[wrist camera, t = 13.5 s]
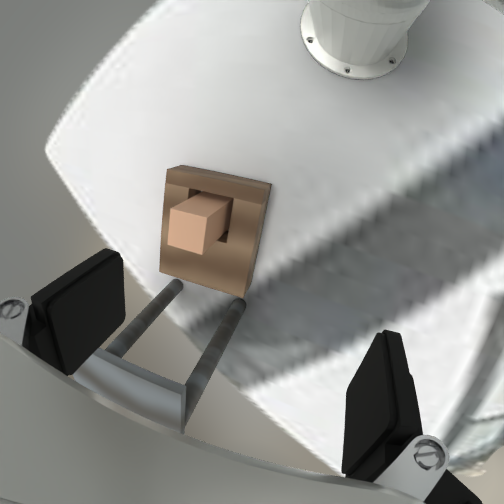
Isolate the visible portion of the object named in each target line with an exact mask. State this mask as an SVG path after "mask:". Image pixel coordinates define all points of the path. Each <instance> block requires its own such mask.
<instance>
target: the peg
mask: <svg viewBox="0 0 504 504" xmlns="http://www.w3.org/2000/svg"><path fill="white" fill-rule="evenodd" d="M233 202H234V198H231V197H227V196H222V195H218V194H214V193H209V192H205V191H203V192H201V193H199V194H197V195H195V196H193V197H191V198H189V199H187V200H186V201H184V202H182V203H180V204H178V205H176V206H174V207H172V208H171V209H170V220H169V231H168V244H167V245H170V246H174V247H177V248H180V249H184V250H187V251H191V252H194V253H197V254H201V255H203V254H204V252H205V251H206V250H207V249H208V248H209V247H210V246H211V245H212V244H213V243H214V242H215V241H216V240H218V239H219V238H220V237H221V236H222V235H223V234H224V233H225V232H226V231H227V230H228V229H229V226H230V220H231V214H232V208H233Z"/></svg>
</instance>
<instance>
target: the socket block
mask: <svg viewBox="0 0 504 504" xmlns="http://www.w3.org/2000/svg"><path fill="white" fill-rule="evenodd" d="M270 189H271V184H269V183H265V182H261V181H256V180H252V179H247V178H243V177H238V176H234V175H229V174H224V173H220V172H215V171H210V170H205V169H200V168H194V167H189V166H184V165H180V166H177V167H173V168H170V169H167V174H166V183H165V193H164V204H163V217H162V230H161V246H160V267H159V272H162V273H165V274H168V275H171V276H174V277H177V278H180V279H183V280H186V281H189V282H193V283H196V284H199V285H202V286H205V287H208V288H212V289H215V290H218V291H222V292H225V293H228V294H231V295H235V296H238V297H241V298H243V297H244V295H245V294H246V292H247V290H248V288H249V286H250V284H251V280H252V276H253V271H254V266H255V261H256V256H257V252H258V247H259V242H260V237H261V232H262V227H263V223H264V218H265V213H266V208H267V203H268V198H269V193H270ZM201 191H205V192H209V193H214V194H218V195H222V196H227V197H231V198H234V202H233V208H232V214H231V220H230V226H229V231H228V230H227V231H226V232H225V233H224V234H223V235H222V236H221V237H220V238H219V239H218V240H216V241H215V242H214V243H213V244H212V245H211V246H210V247H209V248H208V249H207V250H206V251H205V252H204V254H203V255H201V254H197V253H194V252H191V251H187V250H184V249H180V248H177V247H174V246H170V245H167V244H168V231H169V220H170V209H171V208H172V207H174V206H176V205H178V204H180V203H182V202H184V201H186V200H187V199H189V198H191V197H193V196H195V195H197V194H199V193H201ZM182 288H183V285H182V283H181V282H180V281H179V280H177V279H174V280H172V281H171V282H170V283H169V284H168V285H167V286H166V287H165V288H164V289H163V290H162V291H161V292H160V293H159V294H158V295H157V296H156V297H155V298H154V299H153V300H152V301H151V302H150V303H149V305H147V307H145V308H144V310H142V312H141V313H140V314H139V315H138V316H137V317H136V318H135V319H134V320H133V321H132V322H131V323H130V324H129V325H128V326H127V327H126V328H125V329H124V330H123V331H122V332H121V333H120V334H119V335H118V336H117V337H116V338H115V340H114V341H113V342H112V343H111V344H110V345H109V346H108V347H107V348H106V349H105V350H103V349H101V348H98V349H97V350H96V351H95V352H94V353H93V354H92V355H91V356H90V357H89V358H88V359H87V360H86V361H85V362H84V363H83V364H82V365H81V366H80V367H79V368H78V370H77V371H76V372H75V373H74V374H73V376H74V379H75V381H76V382H78V383H79V384H81V385H83V386H85V387H86V388H88V389H90V390H92V391H93V392H95V393H97V394H99V395H101V396H102V397H104V398H106V399H108V400H110V401H112V402H114V403H116V404H118V405H120V406H122V407H123V408H125V409H128V410H130V411H132V412H134V413H136V414H138V415H140V416H142V417H144V418H146V419H149V420H151V421H153V422H155V423H158V424H160V425H162V426H165V427H167V428H169V429H172V430H174V431H177V432H179V433H182V434H184V429H185V426H186V424H187V422H188V420H189V418H190V416H191V414H192V413H193V411H194V409H195V407H196V405H197V403H198V401H199V399H200V397H201V395H202V393H203V391H204V389H205V387H206V385H207V383H208V381H209V380H210V378H211V375H212V374H213V372H214V370H215V368H216V366H217V364H218V362H219V360H220V358H221V356H222V354H223V352H224V350H225V348H226V346H227V344H228V342H229V340H230V338H231V336H232V334H233V332H234V330H235V328H236V326H237V324H238V322H239V320H240V318H241V316H242V314H243V312H244V310H245V308H246V303H245V302H244V301H243V300H241V299H235V300H234V301H233V303H232V305H231V306H230V308H229V310H228V312H227V313H226V315H225V317H224V318H223V320H222V322H221V324H220V325H219V327H218V329H217V331H216V332H215V334H214V336H213V337H212V339H211V341H210V343H209V344H208V346H207V348H206V349H205V351H204V353H203V355H202V356H201V358H200V360H199V362H198V363H197V365H196V367H195V368H194V370H193V372H192V373H191V375H190V377H189V378H188V380H187V382H186V384H185V385H182V384H180V383H177V382H175V381H172V380H170V379H167V378H165V377H162V376H160V375H157V374H155V373H153V372H150V371H148V370H146V369H143V368H141V367H139V366H137V365H135V364H132V363H130V362H128V361H126V360H124V359H122V357H123V355H124V354H125V353H126V352H127V351H128V350H129V349H130V347H131V346H132V345H133V344H134V343H135V342H136V341H137V339H138V338H139V337H140V336H141V335H142V334H143V333H144V331H145V330H146V329H147V328H148V327H149V326H150V325H151V324H152V322H153V321H154V320H155V319H156V318H157V317H158V316H159V314H160V313H161V312H162V311H163V310H164V309H165V308H166V307H167V306H168V304H169V303H170V302H171V301H172V300H173V299H174V298H175V297H176V295H177V294H178V293H179V292H180V291H181V290H182Z"/></svg>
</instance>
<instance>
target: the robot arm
mask: <svg viewBox="0 0 504 504" xmlns="http://www.w3.org/2000/svg"><path fill="white" fill-rule="evenodd" d="M482 1H484V2H485V3H487V4H489V5H490V6H492V7H493V8H495V9H496V10H498V11H499V12H501V13H502V14H503V15H504V0H482ZM429 2H430V0H308V4H307V5H306V7H305V9H304V10H303V13H302V16H301V22H300V30H301V36H302V39H303V42H304V44H305V46H306V48H307V50H308V52H309V53H310V54H311V56H312V57H313V58H314V59H315V60H316V61H317V62H318V63H319V64H320V65H321V66H323V67H324V68H326V69H327V70H329V71H331V72H333V73H335V74H337V75H340V76H343V77H346V78H351V79H358V80H363V79H373V78H378V77H381V76H383V75H385V74H388V73H389V72H390V71H392V70H393V69H395V68H396V67H397V66H398V65H399V63H400V62H401V61H402V59H403V58H404V56H405V53H406V51H407V46H408V34H407V31H408V29H409V28H410V27H411V25H412V24H413V23H414V22H415V20H416V19H417V18H418V16H419V15H420V14H421V13H422V11H423V10H424V8H425V7H426V6H427V5H428V3H429ZM310 40H311V41H313V42H312V43H309V41H310ZM390 60H391V61H392V62H393V64H391V63H390V62H389V61H390ZM345 70H349V71H350V73H346V72H345ZM31 300H32V304H31V305H30V306H29V304H28V303H27V301H26V300H25V299H23V298H20V297H9V298H6V299H4V300H2V301H0V504H482V501H481V500H480V499H479V498H478V497H477V496H476V495H475V494H474V493H473V492H471V491H470V490H469V489H468V488H467V487H466V486H465V485H464V484H463V483H461V482H460V481H459V480H458V479H457V478H456V477H455V476H454V475H453V474H452V473H450V472H449V471H448V470H447V466H448V464H449V453H448V450H447V448H446V446H445V444H444V443H443V442H442V441H441V440H439V439H438V438H436V437H434V436H430V435H423V431H422V425H421V418H420V412H419V407H418V401H417V396H416V390H415V385H414V380H413V377H412V375H411V374H410V373H409V368H408V363H407V359H406V354H405V350H404V346H403V342H402V337H401V334H400V333H397V332H393V331H389V330H384V331H383V332H382V333H377V334H376V336H375V338H374V340H373V342H372V344H371V346H370V348H369V350H368V351H367V353H366V355H365V357H364V359H363V361H362V363H361V365H360V366H359V368H358V370H357V372H356V374H355V375H354V377H353V379H352V381H351V382H350V384H349V386H348V389H347V392H346V411H345V431H344V446H343V458H342V473H343V474H346V477H345V478H344V477H339V476H332V475H327V474H321V473H316V472H311V471H306V470H301V469H296V468H292V467H288V466H284V465H280V464H276V463H271V462H268V461H264V460H260V459H256V458H253V457H249V456H245V455H242V454H239V453H236V452H232V451H229V450H226V449H223V448H220V447H217V446H214V445H211V444H208V443H206V442H203V441H200V440H197V439H195V438H192V437H189V436H187V435H184V434H182V433H179V432H177V431H174V430H172V429H169V428H167V427H165V426H162V425H160V424H158V423H155V422H153V421H151V420H149V419H146V418H144V417H142V416H140V415H138V414H136V413H134V412H132V411H130V410H128V409H125V408H123V407H122V406H120V405H118V404H116V403H114V402H112V401H110V400H108V399H106V398H104V397H102V396H101V395H99V394H97V393H95V392H93V391H92V390H90V389H88V388H86V387H85V386H83V385H81V384H79V383H78V382H76V381H74V380H73V379H71V378H69V377H68V375H72V374H74V373H75V372H76V371H77V370H78V368H79V367H80V366H81V365H82V364H83V363H84V362H85V361H86V360H87V359H88V358H89V357H90V356H91V355H92V354H93V353H94V352H95V351H96V350H97V349H98V348H99V347H100V346H101V345H102V344H103V343H104V341H106V340H107V338H108V337H109V336H110V335H111V334H112V333H113V332H114V331H115V330H116V329H117V328H118V327H119V326H120V325H121V324H122V323H123V322H124V320H125V315H126V314H125V297H124V271H123V259H122V257H121V256H120V253H119V252H116V251H113V250H110V249H107V248H105V249H103V250H101V251H100V252H98V253H97V254H95V255H93V256H91V257H90V258H88V259H87V260H85V261H84V262H82V263H80V264H79V265H77V266H76V267H74V268H73V269H71V270H70V271H68V272H66V273H65V274H64V275H62V276H60V277H59V278H57V279H56V280H54V281H53V282H51V283H50V284H48V285H47V286H46V287H44V288H43V289H41V290H40V291H38V292H37V293H35V294H34V295H33V296H31Z"/></svg>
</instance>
